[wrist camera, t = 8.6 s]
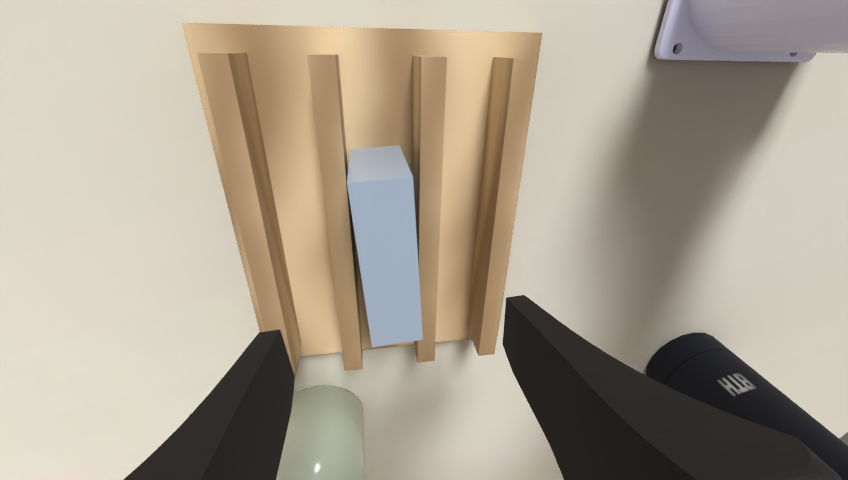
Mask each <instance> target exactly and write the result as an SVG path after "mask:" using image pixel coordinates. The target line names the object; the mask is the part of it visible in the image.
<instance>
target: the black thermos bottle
mask: <svg viewBox="0 0 848 480" xmlns="http://www.w3.org/2000/svg"><path fill="white" fill-rule="evenodd" d="M646 375H647V377H649V378H651V379H653V380H655V381H657V382H659V383H661V384H663V385H665V386H668V387H670V388H672V389H674V390H676V391H678V392H680V393H682V394H684V395H687V396H689V397H691V398H694V399H696V400H698V401H700V402H703V403H705V404H708V405H710V406H712V407H715V408H717V409H720V410H722V411H725V412H727V413H730V414H732V415H735V416H737V417H740V418H743V419H746V420H748V421H751V422H754V423H757V424H760V425H763V426H766V427H768V428H771V429H774V430H777V431H780V432H783V433H785V434H788V435H791V436H794V437H796V438H798V439H799V440H800V441H801V442H802V443H803V444H805V445H806V446H807V447H808V448H809V449H810V450H811V451H812V452H814V453H815V454H816V455H817V456H818V457H819V458H820V459H821V460H823V461H824V462H825V463H826V464H827V465H828V466H829V467H830V468H832V469H833V470H834V471H835V472H836V473H837V474H838V475H839V476H841V478H842V480H848V446H847V445H846V444H845V443H843V442H842V441H841V440H840V439H839V438H837V437H836V436H835V435H834V434H832V433H831V432H830V431H829V430H828V429H826V428H825V427H824V426H823V425H821V424H820V423H819V422H818V421H816V420H815V419H814V418H813V417H811V416H810V415H809V414H808V413H807V412H805V411H804V410H803V409H802V408H800V407H799V406H798V405H797V404H795V403H794V402H793V401H792V400H790V399H789V398H788V397H787V396H786V395H784V394H783V393H782V392H781V391H779V390H778V389H777V388H776V387H774V386H773V385H772V384H771V383H769V382H768V381H767V380H766V379H765V378H763V377H762V376H761V375H760V374H758V373H757V372H756V371H755V370H753V369H752V368H751V367H750V366H748V365H747V364H746V363H745V362H744V361H742V360H741V359H740V358H739V357H737V356H736V355H735V354H734V353H732V352H731V351H730V350H729V349H727V348H726V347H725V346H724V345H723V344H721V343H720V342H719V341H718V340H716V339H715V338H714V337H713V336H711V335H708V334H706V333H691V334H687V335H683V336H681V337H679V338H676V339H674V340H672V341H670V342H669V343H668V344H666V345H665V346H663V347H662V348H661V349H660V350H659V351H658V352H657V353H656V354H655V355H654V356H653V357H652V359H651V361H650V363H649V364H648V367H647V372H646Z"/></svg>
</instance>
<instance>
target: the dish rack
mask: <svg viewBox="0 0 848 480" xmlns="http://www.w3.org/2000/svg"><path fill="white" fill-rule="evenodd" d="M182 27H183V31H184V35H185V39H186V43H187V47H188V51H189V55H190V59H191V63H192V66H193V70H194V74H195V78H196V82H197V86H198V90H199V94H200V98H201V102H202V106H203V110H204V114H205V118H206V121H207V125H208V129H209V133H210V137H211V141H212V145H213V149H214V153H215V157H216V161H217V165H218V169H219V173H220V176H221V180H222V184H223V188H224V192H225V196H226V200H227V204H228V208H229V212H230V216H231V220H232V224H233V228H234V232H235V235H236V239H237V243H238V247H239V251H240V255H241V259H242V263H243V267H244V271H245V275H246V279H247V283H248V287H249V290H250V294H251V298H252V302H253V306H254V310H255V314H256V318H257V322H258V326H259V330H260V332H265V331H273V330H281V333H282V337H283V340H284V343H285V346H286V350H287V353H288V356H289V359H290V363H291V366H292V369H293V372H294V376H296V370H297V365H298V360H299V356H308V355H318V354H328V353H337V352H343V360H344V369H345V370H354V369H362V350H366V349H376V348H385V347H395V346H405V345H414V346H415V351H416V356H417V361H418V362H426V361H434V359H435V342H443V341H453V340H463V339H472V340H473V343H474V345H475V348H476V351H477V353H478V356H480V355H489V354H494V353H495V346H496V340H497V336H498V330H499V323H500V316H501V309H502V302H503V296H504V289H505V282H506V275H507V268H508V262H509V255H510V248H511V241H512V234H513V228H514V221H515V214H516V207H517V200H518V194H519V187H520V180H521V173H522V166H523V160H524V153H525V146H526V139H527V132H528V126H529V119H530V112H531V105H532V98H533V92H534V85H535V78H536V71H537V64H538V58H539V51H540V44H541V37H542V33H527V32H491V31H456V30H420V29H384V28H348V27H312V26H276V25H240V24H205V23H182ZM396 145H400V148H401V150H402V152H403V155H404V157H405V159H406V162H407V164H408V166H409V169H410V171H411V173H412V176H413V185H414V201H415V217H416V234H417V250H418V266H419V282H420V299H421V315H422V331H423V340H418V341H412V342H405V343H398V344H392V345H385V346H378V347H372V344H371V337H370V331H369V324H368V318H367V311H366V304H365V298H364V291H363V285H362V278H361V272H360V265H359V259H358V252H357V246H356V239H355V233H354V226H353V220H352V213H351V206H350V200H349V193H348V187H347V176H348V164H349V152H350V149H361V148H373V147H384V146H396Z"/></svg>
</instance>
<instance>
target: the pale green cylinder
mask: <svg viewBox="0 0 848 480" xmlns="http://www.w3.org/2000/svg"><path fill="white" fill-rule="evenodd" d="M276 480H364V426H363V405H362V403H361V401H360V399H359V398H358V397H357V396H356V395H355V394H354V393H352V392H350V391H349V390H346V389H344V388H341V387H336V386H314V387H310V388H306V389H303V390H301V391H299V392H297V393H295V394H293V401H292V410H291V415H290V419H289V424H288V428H287V433H286V438H285V442H284V446H283V451H282V455H281V460H280V464H279V469H278V473H277V477H276Z"/></svg>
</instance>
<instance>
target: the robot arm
mask: <svg viewBox="0 0 848 480" xmlns="http://www.w3.org/2000/svg"><path fill="white" fill-rule="evenodd" d="M675 45H677V47H676V50H675V52H674V53H673V48H674V46H675ZM654 53H655V57H656V58H657V59H660V60H711V61H770V62H807V61H809V60H811V59H812V58H813V57H814V56H815V55H816V53H848V0H668V3H667V7H666V10H665V14H664V17H663V21H662V25H661V28H660V32H659V35H658V39H657V42H656V46H655V51H654ZM503 346H504V349H505V352H506V355H507V358H508V360H509V363H510V366H511V368H512V371H513V373H514V375H515V377H516V379H517V381H518V383H519V385H520V387H521V389H522V391H523V393H524V395H525V397H526V399H527V401H528V403H529V405H530V407H531V409H532V411H533V412H534V414H535V416H536V418H537V420H538V422H539V424H540V426H541V428H542V430H543V432H544V434H545V436H546V438H547V440H548V442H549V444H550V446H551V449H552V451H553V453H554V456H555V458H556V461H557V463H558V466H559V468H560V470H561V473H562V475H563V478H564V480H842V478H841V476H839V475H838V474H837V473H836V472H835V471H834V470H833V469H832V468H830V467H829V466H828V465H827V464H826V463H825V462H824V461H823V460H821V459H820V458H819V457H818V456H817V455H816V454H815V453H814V452H812V451H811V450H810V449H809V448H808V447H807V446H806V445H805V444H803V443H802V442H801V441H800V440H799V439H798V438H796V437H794V436H791V435H788V434H785V433H783V432H780V431H777V430H774V429H771V428H768V427H766V426H763V425H760V424H757V423H754V422H751V421H748V420H746V419H743V418H740V417H737V416H735V415H732V414H730V413H727V412H725V411H722V410H720V409H717V408H715V407H712V406H710V405H708V404H705V403H703V402H700V401H698V400H696V399H694V398H691V397H689V396H687V395H684V394H682V393H680V392H678V391H676V390H674V389H672V388H670V387H668V386H665V385H663V384H661V383H659V382H657V381H655V380H653V379H651V378H649V377H647V376H645V375H643V374H642V373H640V372H638V371H636V370H634V369H633V368H631V367H629V366H627V365H625V364H623V363H622V362H620V361H618V360H617V359H615V358H613V357H611V356H610V355H608V354H607V353H605V352H603V351H602V350H600V349H599V348H597V347H596V346H594V345H592V344H591V343H589V342H588V341H586V340H585V339H583V338H582V337H580V336H579V335H578V334H576V333H575V332H573V331H572V330H570V329H569V328H568V327H566V326H565V325H563V324H562V323H561V322H559V321H558V320H557V319H555V318H554V317H553V316H551V315H550V314H549V313H547V312H546V311H545V310H543V309H542V308H541V307H539V306H538V305H537V304H535V303H534V302H533V301H531V300H530V299H529V298H527V297H526V296H524V295H522V296H515V297H508V298H506V309H505V322H504V334H503ZM294 380H295V376H294V372H293V369H292V366H291V363H290V359H289V356H288V353H287V350H286V346H285V343H284V340H283V337H282V333H281V330H273V331H265V332H259V334H258V335H257V336H256V337H255V338H254V340H253V341H252V342H251V343H250V345H249V346H248V347H247V348H246V350H245V351H244V352H243V353H242V355H241V356H240V357H239V359H238V360H237V361H236V362H235V364H234V365H233V366H232V367H231V369H230V370H229V371H228V372H227V373H226V375H225V376H224V377H223V378H222V379H221V381H220V382H219V383H218V384H217V385H216V387H215V388H214V389H213V390H212V391H211V393H210V394H209V395H208V396H207V397H206V398H205V399H204V401H203V402H202V403H201V404H200V405H199V406H198V407H197V408H196V409H195V411H194V412H193V413H192V414H191V415H190V416H189V417H188V418H187V419H186V421H185V422H184V423H183V424H182V425H181V426H180V427H179V428H178V429H177V430H176V431H175V432H174V433H173V434H172V435H171V436H170V437H169V438H168V439H167V440H166V441H165V442H164V443H163V444H162V445H161V446H160V447H159V448H158V449H157V450H156V451H155V452H154V453H153V454H152V455H151V456H149V457H148V458H147V459H146V460H145V461H144V462H143V463H142V464H141V465H140V466H139V467H137V468H136V469H135V470H134V471H133V472H132V473H131V474H129V475H128V476H127V477H126V478H125V479H124V480H276V477H277V473H278V469H279V464H280V460H281V455H282V451H283V446H284V442H285V438H286V433H287V428H288V424H289V419H290V415H291V410H292V401H293V392H294Z"/></svg>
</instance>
